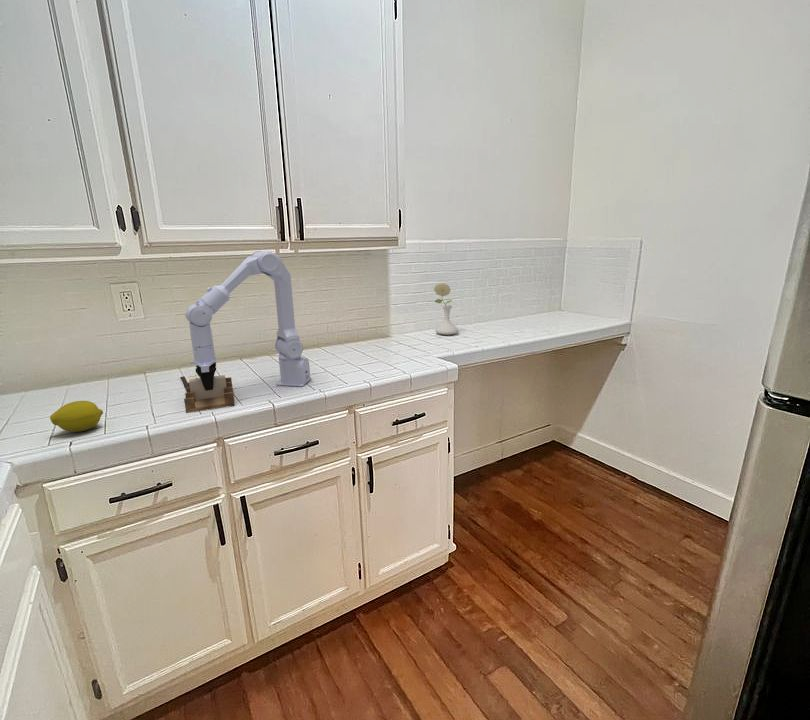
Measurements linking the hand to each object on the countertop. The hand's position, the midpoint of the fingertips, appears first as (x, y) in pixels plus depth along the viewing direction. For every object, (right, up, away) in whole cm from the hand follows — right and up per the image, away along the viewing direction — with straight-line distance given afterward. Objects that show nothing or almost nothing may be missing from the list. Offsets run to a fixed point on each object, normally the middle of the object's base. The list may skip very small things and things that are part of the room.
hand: (209, 388), depth 133 cm
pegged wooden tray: (0, -4, +1) cm, 4 cm away
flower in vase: (+80, +22, +83) cm, 117 cm away
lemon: (-25, -10, -19) cm, 33 cm away
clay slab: (0, -3, +1) cm, 3 cm away
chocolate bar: (-11, 0, +17) cm, 20 cm away
